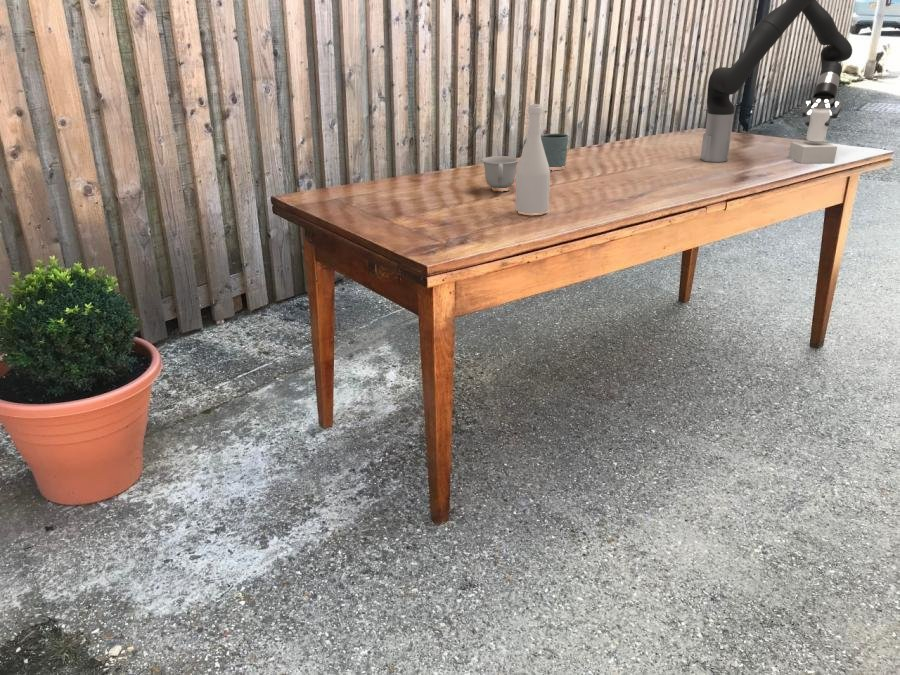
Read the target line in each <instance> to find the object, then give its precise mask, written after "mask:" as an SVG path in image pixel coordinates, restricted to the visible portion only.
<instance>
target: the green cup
mask: <svg viewBox="0 0 900 675" xmlns="http://www.w3.org/2000/svg"><path fill="white" fill-rule="evenodd" d="M540 135H541V141H542V144H543V148H544V151H545V155H546V158H547V162H548V165H549V167H562V166H565V165H566V164H567V162H566V161H567V155H568V154H567V153H568V144H569V143H568V142H569V135H568V134H567V133H566V134H565V133H545V134H540ZM565 167H566V166H565Z"/></svg>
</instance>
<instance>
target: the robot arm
mask: <svg viewBox="0 0 900 675" xmlns="http://www.w3.org/2000/svg"><path fill="white" fill-rule="evenodd" d="M801 13H803V15H804V17H805V18H806V19H807V21H808V23H809V25H810V26H811V29H812V31H813V32H814V35H815V37H816V39H817V41H818V43H819V44H820V45H821V46H824V47H823V48H822V49H821V51H820V62H821V63H820V66H821V68H820V73H819V76H818V79H817V82H816V85H815V87H814V88H815V89H814V93H813V96H812V98H811V99H810V100H807V99H803V100H802V103H801V104H802V105H801V111H802V112H801V116H802V117H803V118H804V117H805V121H804V124H805V126H806V127H808V126H809V121H810V115H811V111H812V109H813V107H815V106H826V108H828V107H830V117H829V120H827V121H828V122H826V123H825V126H828V127H829V126H830V123H831V121H832V119H837V118H838V115H839V114H840V112H841V110H842V108H843V105H844V102H843V100H842V101H836V96H837V93H838V90H839V85H840V78H841V75H842V71H843V66H842V64H841V63H840V62H843V61H844V62H845V61H847V60H849V59H850V57H852V54H853V47H852V45H851V43H850V41H849V40H848V38H846V37H845V36H844V34H842V33H841V32H840V31H839V30H838V28H837V25H836V22H835V21H834V19H833V17H832V15H831V14H830V13H829V12H828V11H827V10H826V9H825V8H824V7H823V6H822V5H821V3H819V2H818V0H786V1H784V2H783V3H782V4H780V5H779V6H777V7H776V8H774V9H773V10H771V11H770V12H769V13H768V14H767V13H766V15H765V16H763V17H762V18H761V19H760V21H758V23H757V24H756V25H755V27H753V29H752V30H751V32H750V33H749V35H748V38H747V41H746V43H745V47H744V50H743V52H742V54H741V56H739V58H738V59H737V60H736V62H735V63H734V64H733V65H732V66H730V67H726V66H722V67H721V66H720V67H717V68H715V69H714V70H713V71H712V72H711V73H710V75H709V79H708V84H707V93H706V95H707V96H706V105H707V116H706V123H705V124H706V125H705V130H704V133H703V134H702V142H701V150H700V158H701V160H702V161H704V162H711V163H712V162H713V163H721V162H727V161H728V157H729V152H730V144H731V137H732V130H733V122H734V115H735V108H736V107H735V105H734V104H733V103H732V102H731V99H730V96H731V95H734V94H736V93H738V91H739V90H740V89H741V88H742V87H743V85H744V84H745V82H747V80H748V78H749V77H750V75H751V74H752V73H753V71H754V69H756V67H757V65H758V64H759V63H760V62H761V61H762V59H764V57H765V55H766V54H767V53H768V52H769V51H770V50H771V48H772V47H773V46H774V45H775V44H776V43H777V42H778V41H779V39H780V38H781V37H782V35H783V34H784V33H785V32H786V31H787V29H788V28H789V27H790V25H792V23H793V22H794V21H795V20H796V19H797V17H798V16H799V15H800V14H801ZM809 106H810V109H809V110H808V111H807V108H808V107H809ZM833 107H835V110H833V112H832V111H831V109H832V108H833Z"/></svg>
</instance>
